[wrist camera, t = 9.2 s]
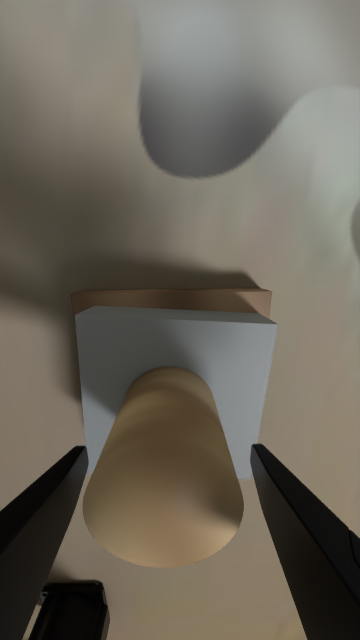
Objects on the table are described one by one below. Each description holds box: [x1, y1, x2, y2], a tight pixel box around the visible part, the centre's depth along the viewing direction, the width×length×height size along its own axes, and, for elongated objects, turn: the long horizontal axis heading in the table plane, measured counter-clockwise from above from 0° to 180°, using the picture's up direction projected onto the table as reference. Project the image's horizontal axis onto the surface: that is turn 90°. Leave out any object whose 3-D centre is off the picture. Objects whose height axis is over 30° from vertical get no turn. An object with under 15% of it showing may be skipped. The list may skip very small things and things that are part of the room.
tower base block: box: [71, 288, 272, 327], centre depth 15 cm, size 12×12×2 cm
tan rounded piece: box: [83, 366, 244, 568], centre depth 9 cm, size 5×5×5 cm
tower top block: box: [75, 306, 278, 479], centre depth 13 cm, size 10×10×2 cm
